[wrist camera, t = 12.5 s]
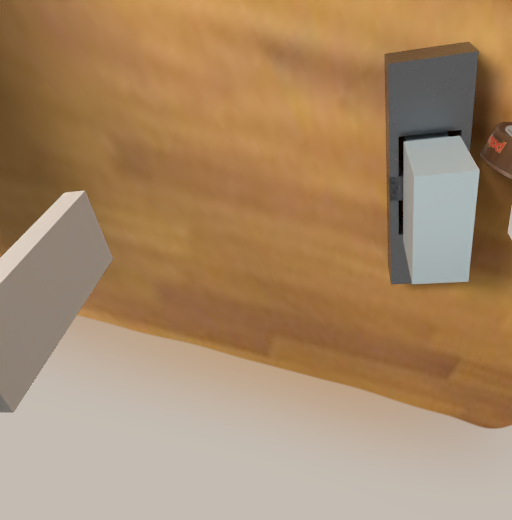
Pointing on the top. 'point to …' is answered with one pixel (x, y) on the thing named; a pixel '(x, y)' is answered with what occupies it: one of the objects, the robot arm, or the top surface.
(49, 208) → the robot arm
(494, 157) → the tin
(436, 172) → the pale blue upright block
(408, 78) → the board
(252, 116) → the top surface
